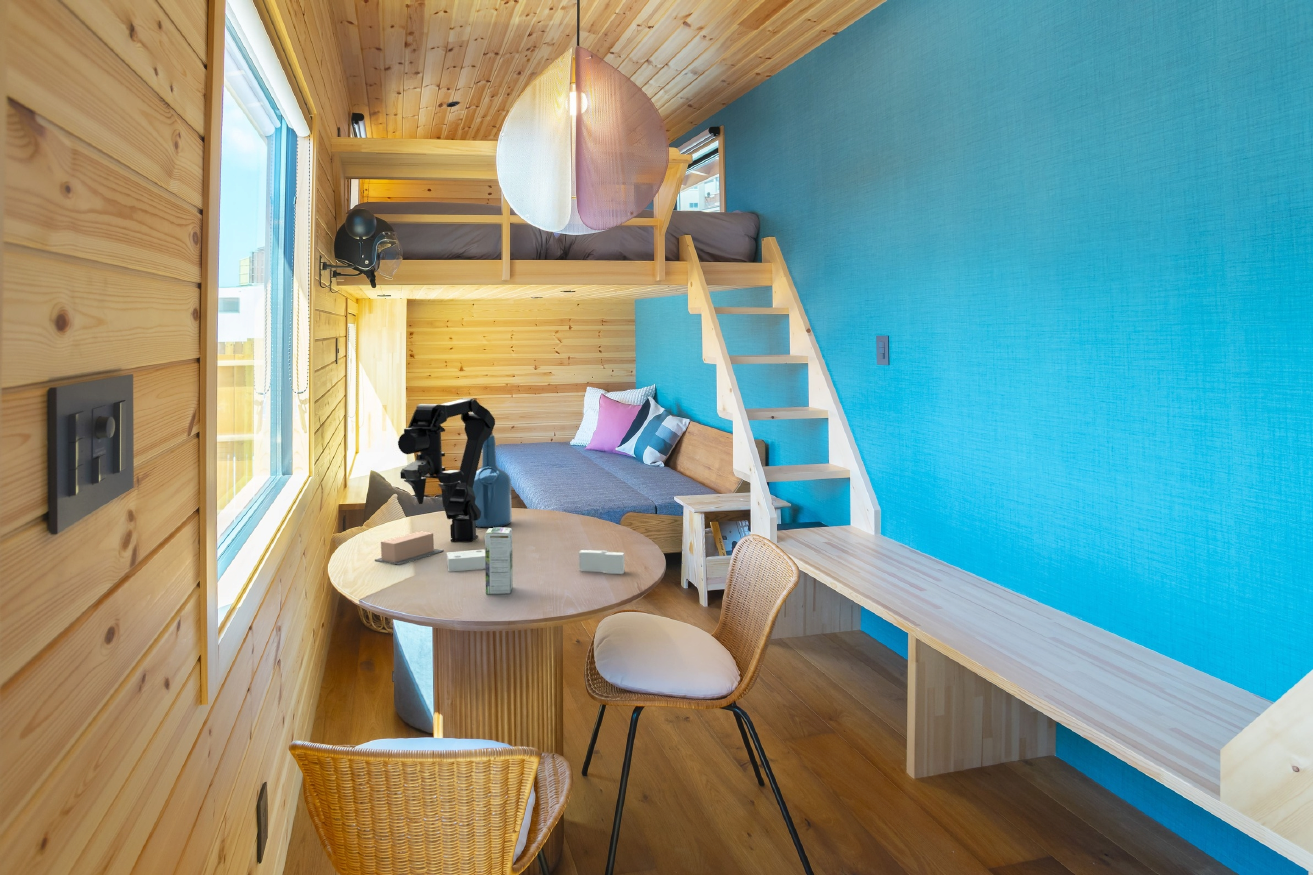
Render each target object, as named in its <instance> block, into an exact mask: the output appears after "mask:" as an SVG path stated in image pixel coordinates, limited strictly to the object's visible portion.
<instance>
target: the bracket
mask: <svg viewBox="0 0 1313 875" xmlns="http://www.w3.org/2000/svg"><path fill="white" fill-rule="evenodd" d="M446 563H447V569H448V572H449V573H450V572H461V571H473V570H474V571H475V570H483V569H485V548H484V549H474V550H460V551H449V552H447V551H446Z"/></svg>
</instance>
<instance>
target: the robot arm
mask: <svg viewBox="0 0 1313 875" xmlns="http://www.w3.org/2000/svg"><path fill="white" fill-rule="evenodd" d="M457 416H460V420H461V421H462V423H463V424H464V434H465V435H466V442H465V447H464V452H463V454H462V459H461V462H460V467H459V470H456V469H451V470H446V466H443V459H442V458H443V457H445V456H446V452H442V451H443V450H442V433H444V432H446V428H445V427H443V426H442V425H444V423H446V422H447V420H448V419H449V418H453V417H457ZM495 425H496V419H495V417H494V415H493V414H492V412H490V410H489V409H488V408H486V407H484V406H483V405H481V404H480V403H479V402H478V401H477V399H475V398H461V399H460V398H459V399H457V400H454V401H449V402H444V403H441V404H434V403H433V404H431V403H430V404H428V403H420V404H417V405H416V408H415V410H414V412H413V414H412V417H411V419H410V422H409V424H408V426H407V428H403V433H402V434H401V435H400V436H399V438H398V441H397V446H398V449H399V451H400V452H401V453H402V454H404V455H411V454H416V453H417V454H416V456H415V460H414V461H412V462H410V463H409V464H407V465H406V466H404V467H403V468H402V469H401V470H400V472H399V473H400V479H402V480H403V481H404V482H405V483H407V484H408V485H410V486H411V488H412V491H413V493H414V496H415V497H416V501H417V503H418V505H422V504H423V503H424V498H425V492H426V484H427V479H437V480H438V481H439V483H437V486H439V488H440V489H441V497H442V498H441V499H442V502H441V503H442V506H443V507H442V508H443V509H444V513H445V515H446V519H447V520H451V524H450V525H449V527H450V528H449V529H450V538H451V539H450V542H458V543H459V542H461V543H463V542H464V543H465V542H466V543H469V542H474V541H475V540H476V539H477V538H478V537H479V535H477V527H476V520H478V519H480V516H481V511H480V509H479V508H478V507H477V505H476V504H475V500H476V497H475V494H474V491H473V485H474V480H475V476H476V472H477V470H478V468H479V463H480V459H481V456H482V448H483V444H484V442H485V441H486V440H487V439H488V438H489V437H490V436H491V434H492V432H494V427H495Z"/></svg>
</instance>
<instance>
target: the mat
mask: <svg viewBox="0 0 1313 875" xmlns="http://www.w3.org/2000/svg"><path fill="white" fill-rule="evenodd" d="M439 553H444V549H438V548H434V551H432V552H428V553H425V554H422V555H418V556H415V557H412V558H408V559H405V560H401V561H398V562H390V561H384V560H382V557H379V558H375V559H374V561H375V562H380V563H386V564H391V565H395V564H397V565H396V566H401V565H404V564H407V563H410V562H409V561H411V562H414V561H417V560H420V559H423V558H425V557H426V556H427V557H429V555H430V556H433V555H436V554H439ZM416 559H417V560H416ZM413 560H414V561H413ZM400 564H401V565H400Z"/></svg>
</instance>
